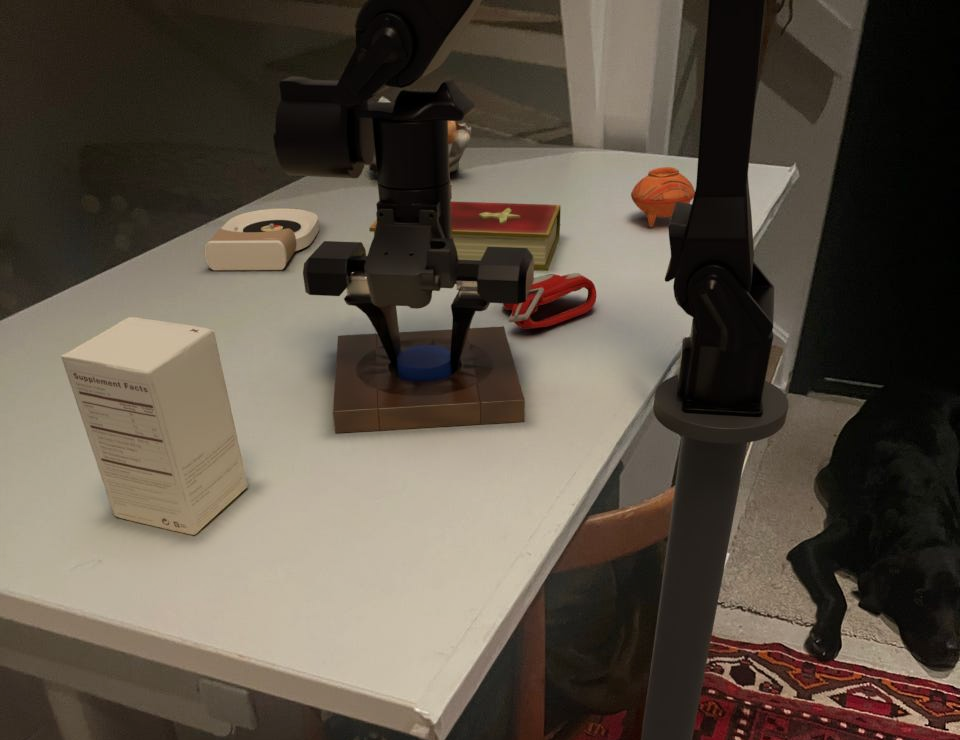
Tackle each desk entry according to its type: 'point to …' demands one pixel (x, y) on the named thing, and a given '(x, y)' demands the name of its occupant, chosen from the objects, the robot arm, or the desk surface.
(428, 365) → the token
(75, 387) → the white packaging box
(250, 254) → the record player
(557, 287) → the red belt with buckle
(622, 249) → the desk surface
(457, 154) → the lucky cat figurine
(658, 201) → the orange footed clay pot
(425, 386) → the token holder
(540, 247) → the hardcover book
